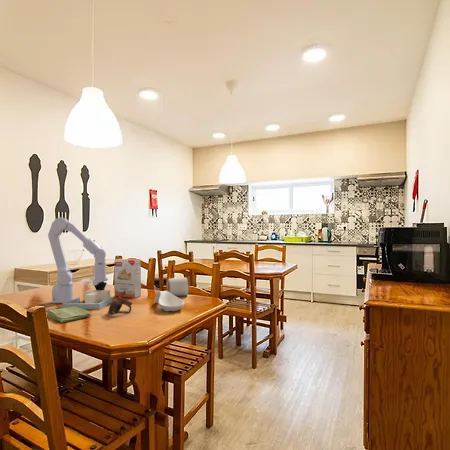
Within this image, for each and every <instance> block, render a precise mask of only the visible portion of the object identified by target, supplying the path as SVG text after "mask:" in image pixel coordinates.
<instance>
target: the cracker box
mask: <svg viewBox="0 0 450 450" xmlns="http://www.w3.org/2000/svg"><path fill="white" fill-rule="evenodd" d="M141 261H142V260H141V259H140V258H139V259H137V258H116V259H114V297H122V298H131V299H136V298H139V297H141V296H142V277H141V275H142V274H141V273H142V271H141V268H142V267H141V266H142V265H141V264H142V263H141Z"/></svg>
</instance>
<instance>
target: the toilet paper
mask: <svg viewBox="0 0 450 450" xmlns="http://www.w3.org/2000/svg"><path fill="white" fill-rule="evenodd" d="M166 285H167V286H166V288H167V290H166V291H168V292H170V293H171V294H173V295H174V296H176V297H182V296H183V297H184V296H188V294H189V280H188V278H187V277H173V278H168V279H167V283H166Z"/></svg>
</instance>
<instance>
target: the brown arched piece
mask: <svg viewBox="0 0 450 450" xmlns="http://www.w3.org/2000/svg"><path fill="white" fill-rule="evenodd" d="M109 304H110V305H109V308H108V312H107V313H108V314H109V315H110V316H113V315H115V314H116V315H117V314H119V313H120V309H121V308H122V307H123V305H124V306H127V307H128V308H129V310H128V312H129V313H131V312H132V308H133V307H132V305H133V302H132V301H130V300H128V299H126V298H125V297H119V296H117V298H115V299H114V300H113V302H111V303H109Z"/></svg>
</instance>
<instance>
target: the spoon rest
mask: <svg viewBox="0 0 450 450" xmlns="http://www.w3.org/2000/svg"><path fill="white" fill-rule="evenodd" d="M154 303H156V304H158V307H160V309H161V310H163V311H165V312H168V311H172V312H177V311H178V310H181V309H183V307H184V306H185V301H184V300H182V299H181V298H179V296H174V295H173V294H171V293H170V292H168V291H167V290H164V291H158V292H157V293H156V295H155V298H154Z"/></svg>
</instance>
